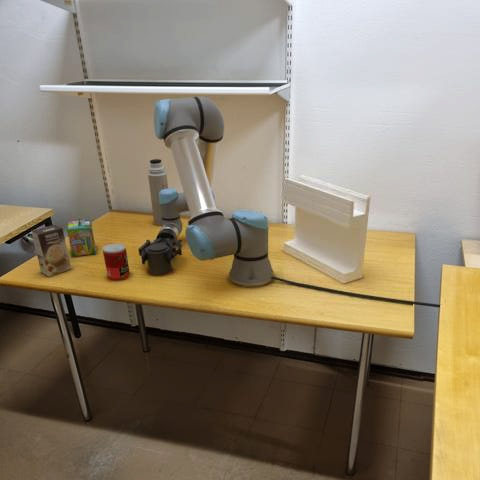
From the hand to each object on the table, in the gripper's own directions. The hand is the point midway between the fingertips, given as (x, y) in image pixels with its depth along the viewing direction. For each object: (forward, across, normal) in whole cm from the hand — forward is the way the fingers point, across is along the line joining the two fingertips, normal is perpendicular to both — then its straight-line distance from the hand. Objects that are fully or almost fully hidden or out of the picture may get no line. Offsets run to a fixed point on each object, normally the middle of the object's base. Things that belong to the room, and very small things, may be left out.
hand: (155, 260), depth 166 cm
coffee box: (-5, +39, -6) cm, 40 cm away
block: (-10, -58, -6) cm, 59 cm away
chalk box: (-24, +35, -6) cm, 43 cm away
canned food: (0, +14, -6) cm, 16 cm away
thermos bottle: (-58, +9, -6) cm, 59 cm away
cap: (-5, 0, -6) cm, 8 cm away
